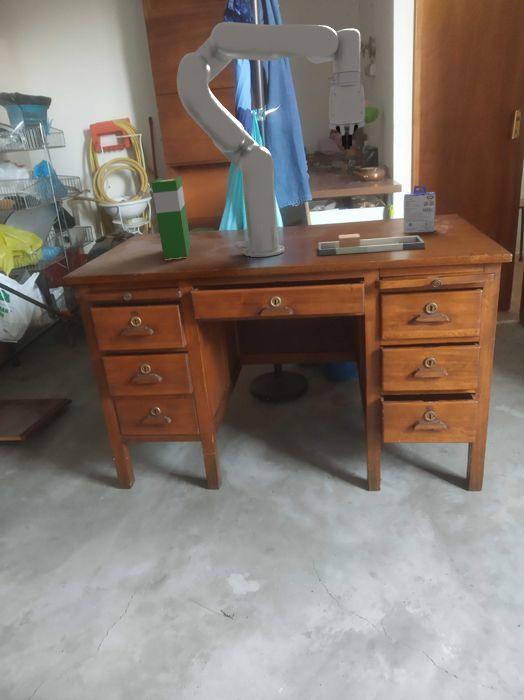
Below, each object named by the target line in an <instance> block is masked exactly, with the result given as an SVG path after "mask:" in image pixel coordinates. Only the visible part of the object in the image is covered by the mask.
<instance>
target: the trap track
mask: <svg viewBox="0 0 524 700" xmlns="http://www.w3.org/2000/svg"><path fill="white" fill-rule="evenodd" d="M425 243H426V242H425V241H424V240H423V239H422V238H421V237H420V236H419V235H407V236H396V237H395V236H394V237H380V238H379V237H378V238H369V239H368V238H367V239H366V238H365V239H364V238H363V239H360V246H358V247H343V248H339V240H337V241H325V242H324V241H323V242H318V256H327V255H328V256H330V255H342V254H343V255H344V254H345V255H346V254H358V253H359V254H360V253H372V252H373V253H374V252H390V251H403V250H416V249H419V250H421V249H425Z"/></svg>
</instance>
